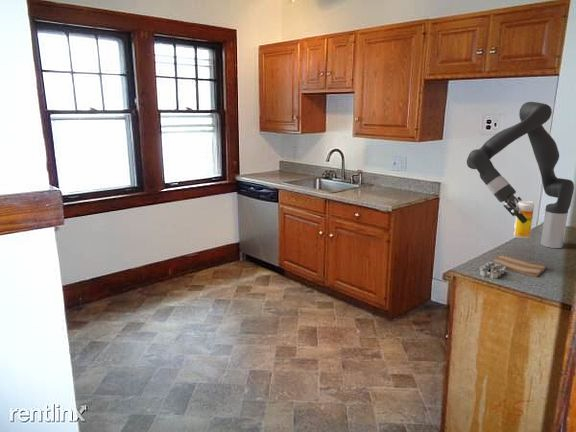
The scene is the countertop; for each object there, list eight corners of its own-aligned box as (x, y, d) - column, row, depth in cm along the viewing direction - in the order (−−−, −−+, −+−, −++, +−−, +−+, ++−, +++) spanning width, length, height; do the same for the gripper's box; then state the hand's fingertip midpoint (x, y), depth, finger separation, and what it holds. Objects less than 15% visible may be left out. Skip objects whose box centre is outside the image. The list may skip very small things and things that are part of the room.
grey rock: (495, 280, 164) (496, 270, 163) (476, 275, 169) (477, 265, 168) (507, 273, 170) (508, 264, 169) (488, 268, 176) (489, 259, 175)
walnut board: (501, 258, 186) (501, 255, 186) (546, 268, 174) (546, 265, 173) (490, 265, 178) (490, 262, 177) (536, 277, 165) (536, 273, 165)
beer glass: (531, 239, 169) (536, 203, 165) (515, 238, 170) (520, 203, 166) (526, 234, 175) (531, 200, 171) (511, 234, 176) (515, 199, 172)
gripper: (502, 185, 167) (530, 218, 162) (514, 181, 177) (541, 212, 171) (487, 196, 172) (514, 229, 167) (500, 191, 182) (526, 222, 177)
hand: (527, 220), depth 169 cm, fingers closed on beer glass, 6 cm apart
